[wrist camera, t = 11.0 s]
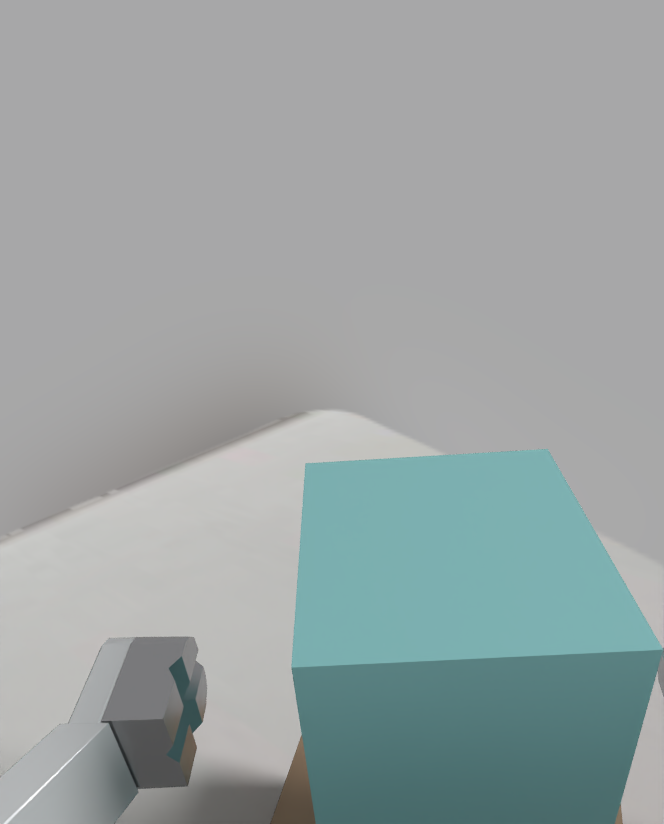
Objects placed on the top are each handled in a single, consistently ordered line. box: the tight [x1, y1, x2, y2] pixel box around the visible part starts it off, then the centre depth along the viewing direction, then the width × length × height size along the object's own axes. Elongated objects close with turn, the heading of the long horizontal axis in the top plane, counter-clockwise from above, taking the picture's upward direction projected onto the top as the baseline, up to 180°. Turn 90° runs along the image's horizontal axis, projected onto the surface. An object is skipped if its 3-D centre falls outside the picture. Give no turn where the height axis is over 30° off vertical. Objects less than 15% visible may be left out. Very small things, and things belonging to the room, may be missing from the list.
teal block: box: [292, 449, 663, 824], centre depth 11 cm, size 4×4×10 cm
